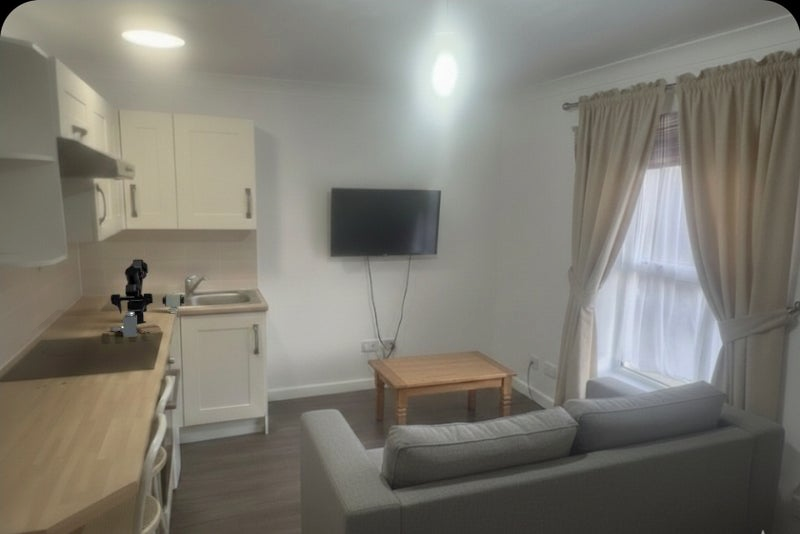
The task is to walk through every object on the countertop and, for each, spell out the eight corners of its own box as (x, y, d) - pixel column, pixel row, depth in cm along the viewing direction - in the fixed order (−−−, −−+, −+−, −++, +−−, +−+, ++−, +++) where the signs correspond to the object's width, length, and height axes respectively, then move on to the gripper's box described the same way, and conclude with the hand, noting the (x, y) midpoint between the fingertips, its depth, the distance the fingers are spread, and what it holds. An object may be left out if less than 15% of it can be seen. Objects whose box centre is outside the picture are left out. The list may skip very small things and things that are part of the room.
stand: (136, 330, 263) (136, 326, 263) (155, 328, 269) (155, 324, 269) (141, 333, 256) (141, 330, 256) (160, 331, 262) (160, 327, 262)
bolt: (108, 332, 257) (108, 325, 257) (113, 330, 261) (113, 323, 260) (121, 333, 256) (121, 326, 256) (126, 331, 260) (126, 324, 259)
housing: (124, 334, 253) (124, 311, 252) (137, 334, 255) (136, 310, 254) (123, 337, 249) (122, 313, 248) (136, 336, 251) (135, 312, 250)
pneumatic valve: (183, 313, 305) (183, 293, 303) (162, 314, 301) (162, 294, 300) (185, 311, 310) (184, 292, 308) (164, 312, 307) (163, 292, 305)
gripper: (110, 278, 254) (107, 304, 246) (151, 277, 261) (150, 302, 252) (113, 291, 263) (110, 316, 254) (153, 290, 269) (152, 315, 260)
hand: (131, 312), depth 255 cm, fingers open, 9 cm apart
